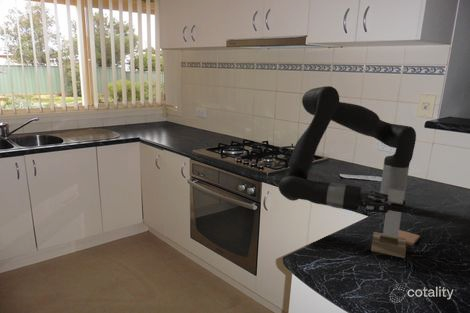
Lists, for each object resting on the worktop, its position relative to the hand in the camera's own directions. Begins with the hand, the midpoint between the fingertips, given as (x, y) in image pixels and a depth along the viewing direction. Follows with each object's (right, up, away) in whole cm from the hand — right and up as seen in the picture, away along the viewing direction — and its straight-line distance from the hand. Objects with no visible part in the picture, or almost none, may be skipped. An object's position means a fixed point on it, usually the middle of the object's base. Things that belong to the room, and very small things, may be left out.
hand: (404, 206), depth 102 cm
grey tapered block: (-3, -8, +3) cm, 9 cm away
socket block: (-3, -13, +4) cm, 14 cm away
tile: (+5, -12, +12) cm, 17 cm away
